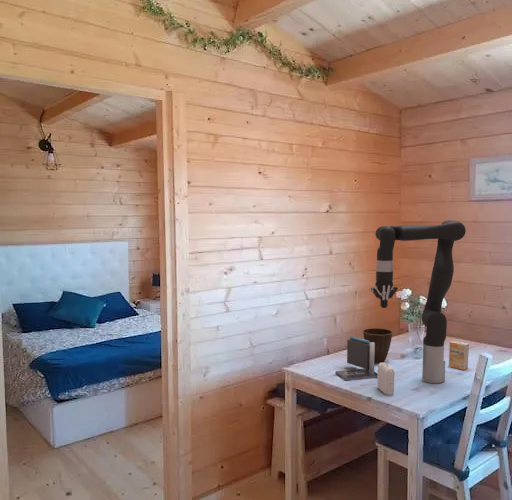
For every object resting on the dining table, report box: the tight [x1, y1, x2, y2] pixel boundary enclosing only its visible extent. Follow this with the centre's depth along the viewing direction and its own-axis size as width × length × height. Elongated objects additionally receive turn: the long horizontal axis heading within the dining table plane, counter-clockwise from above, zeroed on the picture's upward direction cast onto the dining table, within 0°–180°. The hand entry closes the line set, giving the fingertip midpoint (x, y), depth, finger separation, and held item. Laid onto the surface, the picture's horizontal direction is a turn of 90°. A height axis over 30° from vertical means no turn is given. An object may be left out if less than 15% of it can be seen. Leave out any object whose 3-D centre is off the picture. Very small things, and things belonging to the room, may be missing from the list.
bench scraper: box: [346, 335, 375, 371], centre depth 253 cm, size 15×4×14 cm, turn 38°
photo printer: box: [376, 362, 395, 396], centre depth 225 cm, size 10×4×12 cm, turn 11°
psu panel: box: [335, 368, 378, 382], centre depth 246 cm, size 18×11×2 cm, turn 106°
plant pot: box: [362, 327, 393, 364], centre depth 269 cm, size 15×15×16 cm
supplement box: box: [448, 340, 470, 371], centre depth 258 cm, size 8×5×13 cm, turn 45°
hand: (383, 307), depth 234 cm, fingers closed
